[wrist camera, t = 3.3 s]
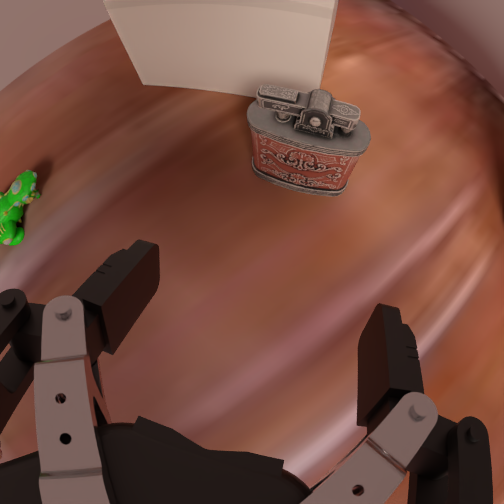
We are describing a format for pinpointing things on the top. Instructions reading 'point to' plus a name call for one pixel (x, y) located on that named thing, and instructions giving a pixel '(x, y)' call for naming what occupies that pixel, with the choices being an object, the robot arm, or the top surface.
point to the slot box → (226, 42)
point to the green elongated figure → (16, 207)
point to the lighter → (305, 139)
